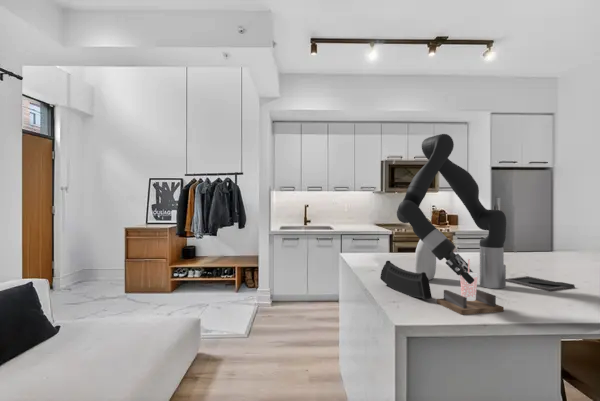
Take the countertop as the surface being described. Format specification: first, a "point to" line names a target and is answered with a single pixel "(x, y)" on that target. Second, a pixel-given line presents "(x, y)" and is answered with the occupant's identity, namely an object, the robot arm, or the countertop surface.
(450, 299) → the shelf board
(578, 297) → the countertop surface
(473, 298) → the beverage cup
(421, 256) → the soap bottle
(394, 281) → the magazine
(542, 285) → the picture frame
